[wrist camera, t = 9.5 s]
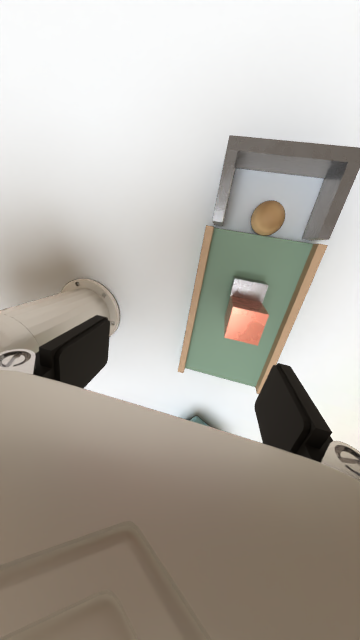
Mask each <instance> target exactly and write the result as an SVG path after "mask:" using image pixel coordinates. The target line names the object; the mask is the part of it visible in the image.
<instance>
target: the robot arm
mask: <svg viewBox="0 0 360 640" xmlns="http://www.w3.org/2000/svg"><path fill="white" fill-rule="evenodd" d="M119 319H120V317H119V309H118V305H117V303H116V301H115V299H114V297H113V295H112V294H111V293H110V292H109V291H108V290H107V289H106V288H105V287H104V286H103V285H101V284H100V283H98V282H96V281H93V280H90V279H77V280H73V281H71V282H69V283H68V284H66V285H65V286H64V288H63V289H62V291H61V293H59V294H56V295H52V296H49V297H45V298H42V299H38V300H35V301H31V302H28V303H24V304H21V305H17V306H14V307H10V308H7V309H3V310H0V640H360V452H359V451H358V450H357V449H355V448H353V447H352V446H350V445H348V444H346V443H343V442H340V441H333V440H332V438H331V437H330V435H331V433H332V431H331V430H330V428H329V427H328V425H327V424H326V422H325V420H324V419H323V417H322V416H321V414H320V413H319V411H318V409H317V408H316V406H315V405H314V403H313V401H312V400H311V398H310V397H309V395H308V394H307V392H306V390H305V389H304V387H303V386H302V384H301V382H300V381H299V379H298V378H297V376H296V375H295V373H294V371H293V370H292V368H291V367H290V366H287V365H283V364H279V363H278V364H277V365H273V366H272V368H271V370H270V372H269V374H268V376H267V379H266V381H265V383H264V385H263V387H262V389H261V391H260V394H259V396H258V398H257V400H256V402H255V412H256V416H257V420H258V424H259V428H260V433H261V437H262V441H263V443H260V442H257V441H253V440H250V439H247V438H244V437H241V436H237V435H234V434H231V433H228V432H225V431H221V430H218V429H215V428H212V427H208V426H205V425H202V424H199V423H195V422H192V421H189V420H186V419H182V418H179V417H176V416H173V415H169V414H166V413H163V412H159V411H156V410H153V409H150V408H146V407H143V406H140V405H136V404H133V403H130V402H126V401H123V400H120V399H117V398H113V397H110V396H107V395H103V394H100V393H96V392H93V391H90V390H86V389H83V388H84V387H85V386H86V385H87V384H88V383H89V382H90V381H91V380H92V379H93V378H94V377H95V376H96V375H97V373H98V372H99V371H100V370H101V369H102V368H103V367H104V366H105V365H106V363H107V360H108V348H109V337H110V336H111V335H112V334H113V333H114V332H115V331H116V329H117V327H118V325H119Z"/></svg>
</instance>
